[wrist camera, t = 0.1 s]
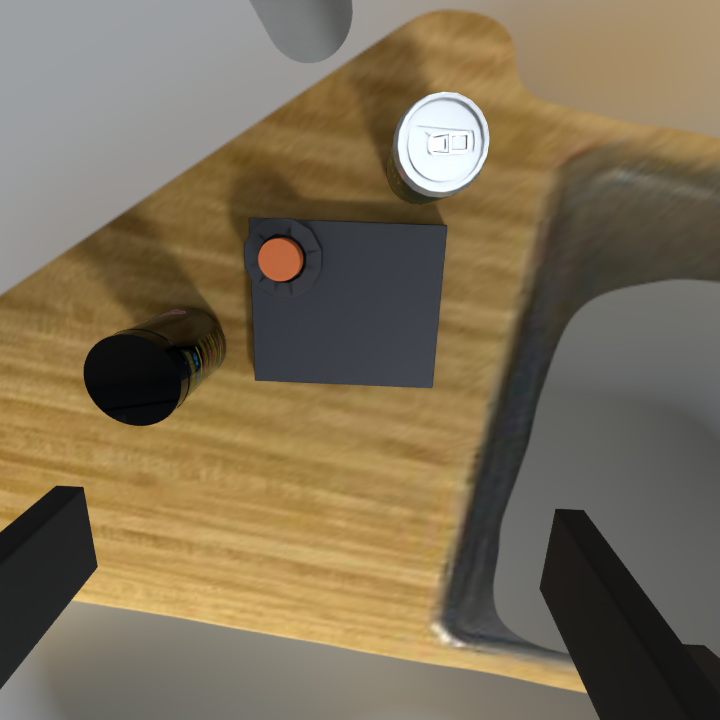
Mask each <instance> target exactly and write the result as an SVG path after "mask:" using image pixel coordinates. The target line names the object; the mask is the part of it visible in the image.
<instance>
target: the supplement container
mask: <svg viewBox="0 0 720 720" xmlns="http://www.w3.org/2000/svg"><path fill="white" fill-rule="evenodd" d="M225 352H226V343H225V338H224V335H223V332H222V330H221V328H220V327H219V325H218V324H217V323H216V322H215V320H214V319H212V318H211V317H210V316H209V315H207V314H206V313H204V312H202V311H200V310H197V309H193V308H186V307H182V308H176V309H173V310H170V311H168V312H165V313H163V314H161V315H158V316H156V317H154V318H152V319H149V320H147V321H145V322H142V323H140V324H138V325H136V326H133V327H131V328H129V329H126V330H122V331H120V332H117V333H115V334H114V335H112V336H109V337H107V338H105V339H103V340H101V341H100V342H98V343H97V344H96V345H95V346H94V347H93V348H92V349H91V350H90V352H89V354H88V355H87V358H86V360H85V364H84V381H85V385H86V388H87V391H88V393H89V395H90V397H91V398H92V400H93V401H94V402H95V404H96V405H97V406H98V407H99V408H100V409H101V410H102V411H103V412H104V413H106V414H107V415H108V416H110V417H111V418H113V419H115V420H117V421H119V422H122V423H125V424H129V425H135V426H146V425H152V424H155V423H158V422H160V421H162V420H164V419H165V418H167V417H168V416H169V415H170V414H171V413H172V412H173V411H174V410H176V409H177V408H178V407H179V406H180V405H181V404H182V403H183V402H184V400H185V399H186V398H187V397H188V396H190V395H191V394H192V393H193V392H194V391H195V390H196V389H197V388H198V387H199V386H200V385H201V384H202V383H203V382H204V381H205V380H206V379H207V378H208V377H209V376H211V375H212V374H213V373H214V372H215V371H216V370H217V369H218V368H219V366H220V365H221V363H222V362H223V359H224V356H225Z"/></svg>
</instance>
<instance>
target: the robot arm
mask: <svg viewBox="0 0 720 720" xmlns="http://www.w3.org/2000/svg"><path fill="white" fill-rule="evenodd" d="M97 567H98V566H97V560H96V555H95V549H94V544H93V538H92V532H91V527H90V521H89V516H88V510H87V504H86V499H85V493H84V488H83V487H73V486H55V487H54V488H53V489H52V490H51V491H49V492H48V493H47V494H46V495H45V496H43V497H42V498H41V499H40V500H39V501H37V502H36V503H35V504H34V505H33V506H31V507H30V508H29V509H28V510H27V511H25V512H24V513H23V514H22V515H21V516H19V517H18V518H17V519H16V520H15V521H13V522H12V523H11V524H10V525H9V526H7V527H6V528H5V529H4V530H3V531H1V532H0V689H1V688H2V687H3V685H4V684H5V683H6V682H7V680H8V679H9V678H10V676H11V675H12V674H13V673H14V672H15V670H16V669H17V668H18V667H19V665H20V664H21V663H22V662H23V660H24V659H25V658H26V656H27V655H28V654H29V653H30V651H31V650H32V649H33V648H34V646H35V645H36V644H37V643H38V641H39V640H40V639H41V638H42V636H43V635H44V634H45V633H46V631H47V630H48V629H49V628H50V626H51V625H52V624H53V622H54V621H55V620H56V619H57V617H58V616H59V615H60V614H61V612H62V611H63V610H64V609H65V607H66V606H67V605H68V604H69V602H70V601H71V600H72V599H73V597H74V596H75V595H76V594H77V592H78V591H79V590H80V589H81V587H82V586H83V585H84V584H85V582H86V581H87V580H88V578H89V577H90V576H91V575H92V573H93V572H94V571H95V570H96V568H97ZM540 591H541V592H542V595H543V597H544V599H545V601H546V604H547V606H548V608H549V610H550V612H551V614H552V617H553V618H554V621H555V623H556V625H557V627H558V630H559V632H560V634H561V636H562V638H563V640H564V643H565V645H566V647H567V649H568V651H569V654H570V656H571V658H572V660H573V662H574V664H575V667H576V669H577V671H578V673H579V675H580V677H581V680H582V682H583V684H584V686H585V688H586V690H587V693H588V695H589V697H590V699H591V701H592V703H593V706H594V708H595V710H596V712H597V714H598V716H599V718H600V720H720V658H719V657H717V656H716V655H715V654H714V653H713V652H712V651H710V650H709V649H708V648H707V647H706V646H704V645H685V644H682V643H681V641H680V640H679V639H678V637H677V636H676V635H675V633H674V632H673V631H672V629H671V628H670V627H669V625H668V624H667V623H666V621H665V620H664V619H663V617H662V616H661V614H660V613H659V612H658V610H657V609H656V608H655V606H654V605H653V604H652V602H651V601H650V599H649V598H648V597H647V595H646V594H645V593H644V591H643V590H642V589H641V587H640V586H639V584H638V583H637V582H636V581H635V579H634V578H633V576H632V575H631V574H630V572H629V571H628V570H627V568H626V567H625V566H624V564H623V563H622V561H621V560H620V559H619V557H618V556H617V555H616V553H615V552H614V551H613V549H612V548H611V547H610V545H609V544H608V543H607V541H606V540H605V538H604V537H603V536H602V535H601V533H600V532H599V530H598V529H597V528H596V526H595V525H594V524H593V522H592V521H591V520H590V518H589V517H588V516H587V514H586V513H585V511H584V510H570V509H556V510H555V514H554V519H553V524H552V529H551V534H550V539H549V544H548V549H547V554H546V559H545V564H544V569H543V574H542V579H541V584H540Z"/></svg>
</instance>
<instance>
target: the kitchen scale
mask: <svg viewBox="0 0 720 720" xmlns="http://www.w3.org/2000/svg"><path fill="white" fill-rule="evenodd" d="M249 235H250V236H249V238H248V240H247V241H246V243H245V245H244V260H245V269H246V271H247V272H248V274H249V276H250V277H251V288H252V314H253V340H254V366H255V380H256V381H278V382H301V383H324V384H348V385H371V386H394V387H417V388H432V386H433V376H434V365H435V354H436V343H437V333H438V322H439V311H440V300H441V290H442V279H443V268H444V257H445V247H446V236H447V225H428V224H402V223H376V222H350V221H324V220H298V219H290V218H249ZM275 238H288V239H291V240H292V241H294V242H295V243H296V244H297V245H298V246H299V247H300V249H301V251H302V254H303V265H302V268H301V270H300V271H299V272H298V273H297V274H296V275H295V276H293V277H292V278H290V279H289V280H286V281H275V280H272V279H270V278H268V277H267V276H266V275H265V274H264V273H263V272H262V270H261V268H260V266H259V262H258V255H259V251H260V249H261V247H262V246H263V245H264V244H265V243H266V242H267V241H269V240H271V239H275Z"/></svg>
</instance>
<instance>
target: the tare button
mask: <svg viewBox="0 0 720 720" xmlns="http://www.w3.org/2000/svg"><path fill="white" fill-rule="evenodd" d="M258 262H259V266H260V268H261V270H262V272H263V273H264V274H265V275H266V276H267V277H268V278H270V279H272V280H275V281H286V280H289V279H290V278H292V277H293V276H295V275H296V274H297V273H298V272H299V271H300V270H301V268H302V265H303V254H302V251H301V249H300V247H299V246H298V245H297V244H296V243H295V242H294V241H292V240H291V239H288V238H275V239H271V240H269V241H267V242H266V243H265V244H264V245H263V246H262V247H261V249H260V251H259V255H258Z"/></svg>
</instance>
